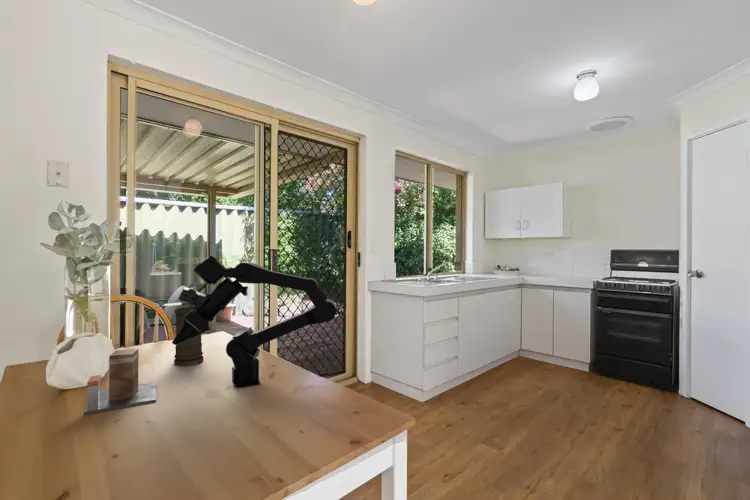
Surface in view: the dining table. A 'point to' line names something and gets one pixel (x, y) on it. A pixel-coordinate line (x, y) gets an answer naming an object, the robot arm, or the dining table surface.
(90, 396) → the keeper
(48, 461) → the dining table surface
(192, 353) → the container
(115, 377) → the link block
